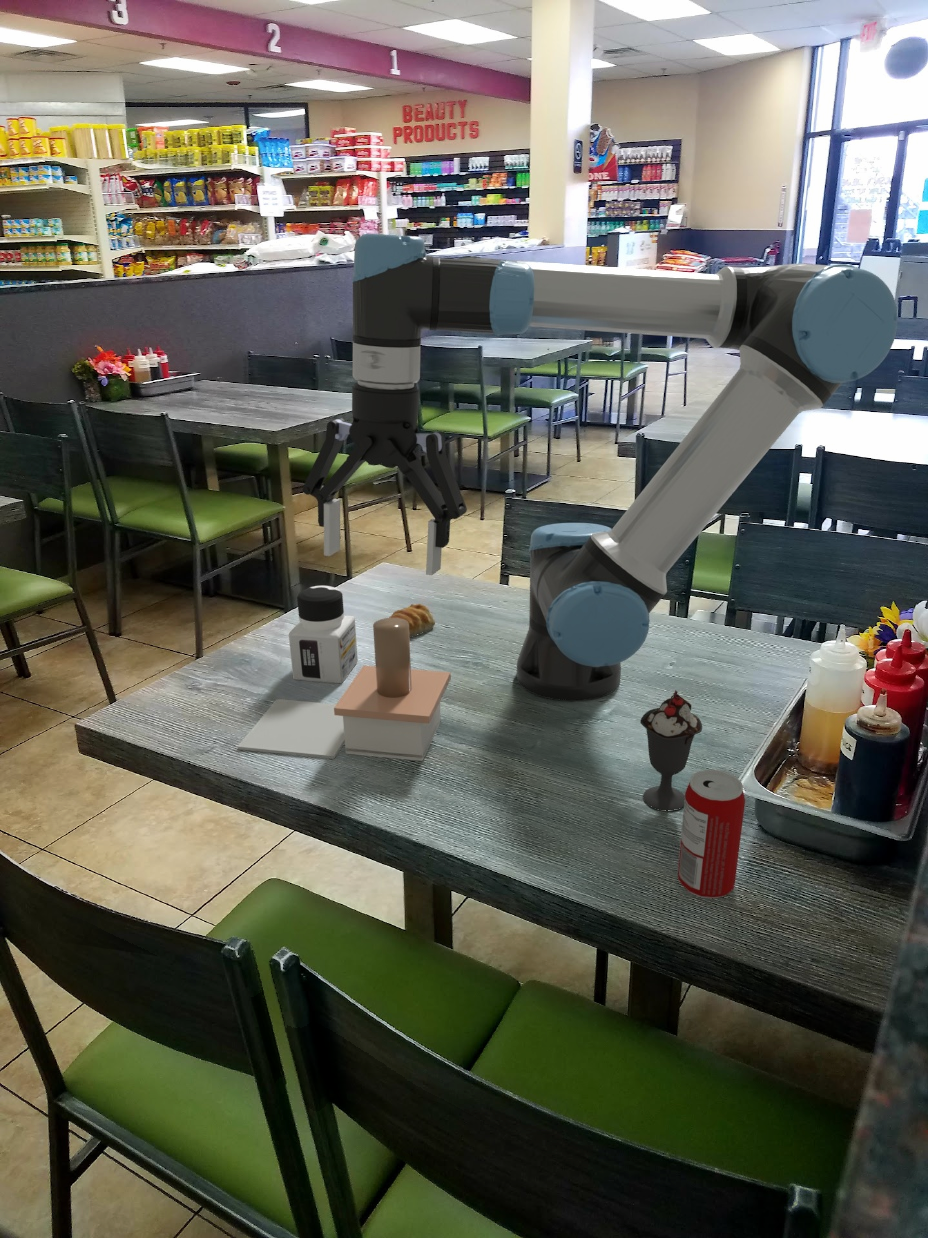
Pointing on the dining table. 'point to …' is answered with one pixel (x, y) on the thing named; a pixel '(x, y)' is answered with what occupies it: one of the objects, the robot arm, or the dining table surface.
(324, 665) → the container
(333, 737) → the mat
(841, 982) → the dining table surface
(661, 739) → the sundae
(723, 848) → the soda can
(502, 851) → the dining table surface
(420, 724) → the white open box
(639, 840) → the dining table surface
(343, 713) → the lid
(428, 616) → the pastry
